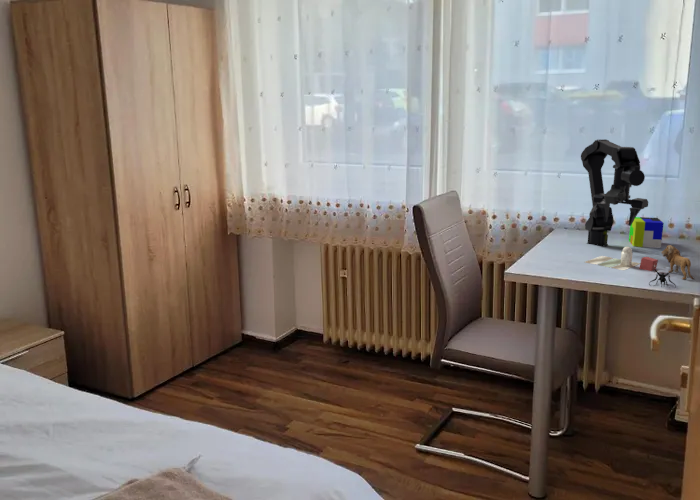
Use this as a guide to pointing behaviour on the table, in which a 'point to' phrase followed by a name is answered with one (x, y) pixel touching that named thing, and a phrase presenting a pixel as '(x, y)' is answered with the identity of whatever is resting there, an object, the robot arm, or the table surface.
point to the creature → (662, 278)
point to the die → (648, 263)
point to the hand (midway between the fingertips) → (617, 223)
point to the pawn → (626, 257)
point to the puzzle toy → (646, 232)
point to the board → (610, 262)
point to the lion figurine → (677, 261)
